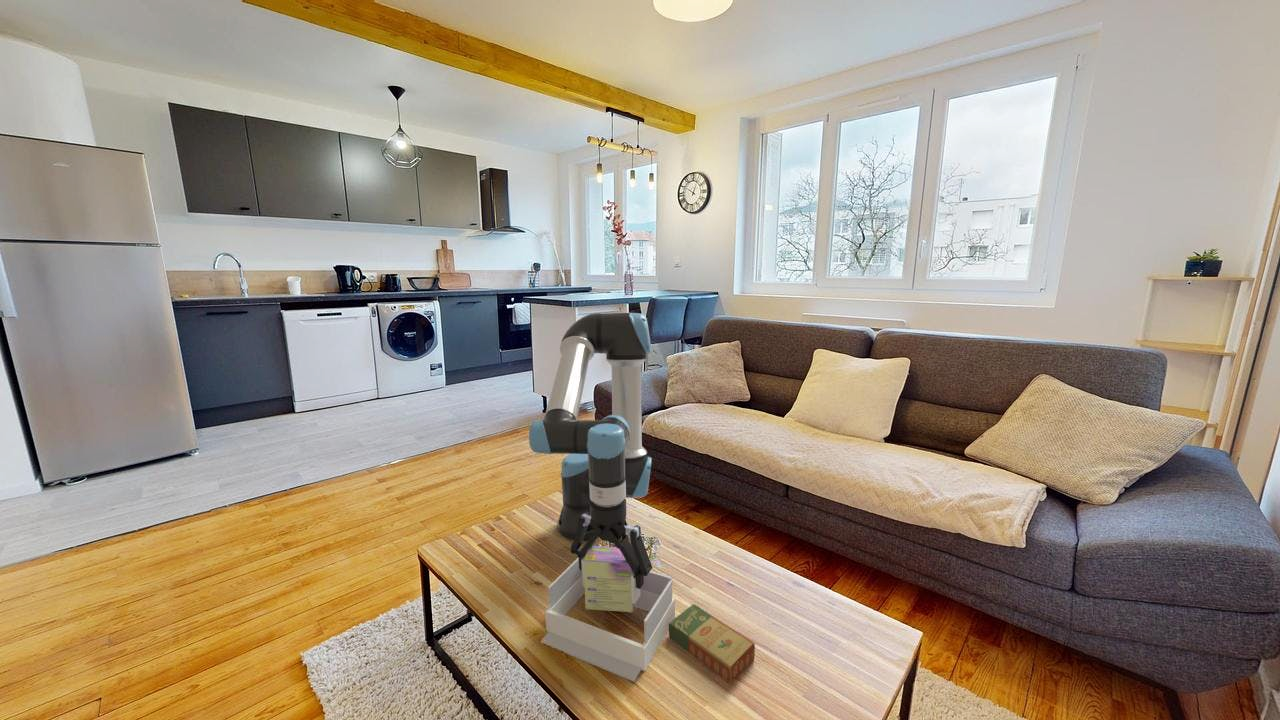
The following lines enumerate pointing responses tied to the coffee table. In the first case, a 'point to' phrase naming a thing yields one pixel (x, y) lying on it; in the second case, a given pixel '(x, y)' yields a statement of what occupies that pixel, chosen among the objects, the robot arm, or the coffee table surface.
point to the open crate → (602, 644)
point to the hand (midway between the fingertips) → (611, 591)
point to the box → (607, 580)
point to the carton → (712, 642)
